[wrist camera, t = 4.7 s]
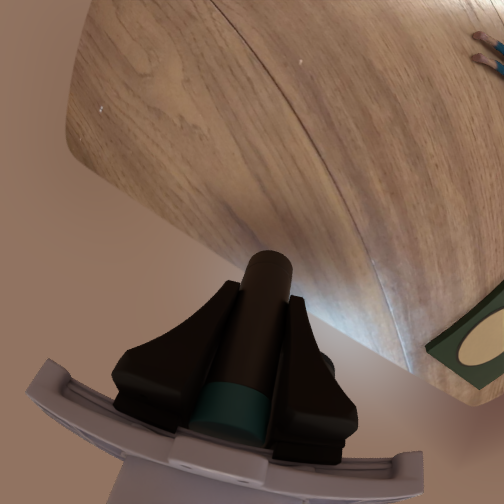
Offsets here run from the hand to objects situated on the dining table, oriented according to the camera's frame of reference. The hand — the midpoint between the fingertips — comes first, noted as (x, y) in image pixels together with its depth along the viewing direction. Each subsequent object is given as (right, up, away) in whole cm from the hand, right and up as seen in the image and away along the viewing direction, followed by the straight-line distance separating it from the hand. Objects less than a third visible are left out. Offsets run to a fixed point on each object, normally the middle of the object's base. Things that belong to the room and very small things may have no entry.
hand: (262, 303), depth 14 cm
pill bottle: (0, +2, +2) cm, 3 cm away
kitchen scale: (+31, -9, +10) cm, 34 cm away
